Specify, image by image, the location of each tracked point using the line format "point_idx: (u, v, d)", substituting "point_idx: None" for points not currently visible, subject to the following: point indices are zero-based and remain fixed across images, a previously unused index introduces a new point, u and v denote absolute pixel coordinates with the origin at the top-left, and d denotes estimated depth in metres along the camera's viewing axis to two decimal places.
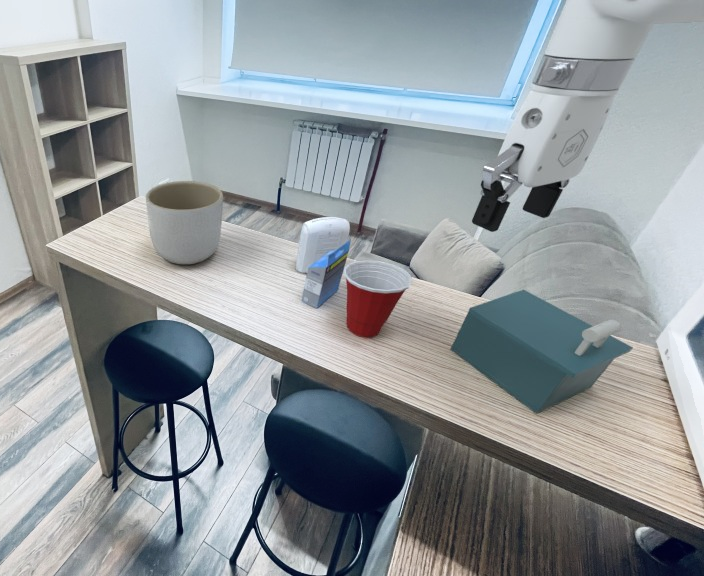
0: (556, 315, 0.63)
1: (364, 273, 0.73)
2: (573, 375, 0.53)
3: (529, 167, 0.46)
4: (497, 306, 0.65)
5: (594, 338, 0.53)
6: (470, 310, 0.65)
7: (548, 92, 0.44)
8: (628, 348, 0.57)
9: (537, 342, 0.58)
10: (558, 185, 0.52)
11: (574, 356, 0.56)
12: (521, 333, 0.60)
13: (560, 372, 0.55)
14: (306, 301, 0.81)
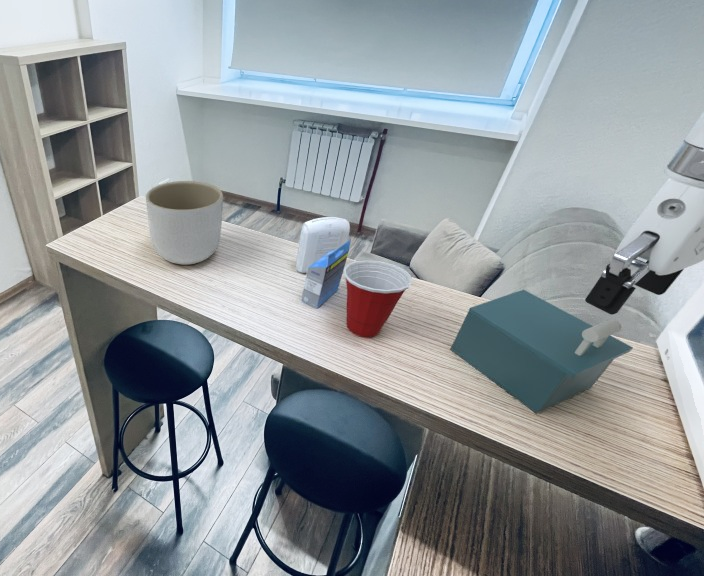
0: (556, 315, 0.63)
1: (364, 273, 0.73)
2: (573, 375, 0.53)
3: (664, 257, 0.44)
4: (497, 306, 0.65)
5: (594, 338, 0.53)
6: (470, 310, 0.65)
7: (692, 184, 0.41)
8: (628, 348, 0.57)
9: (537, 342, 0.58)
10: None
11: (574, 356, 0.56)
12: (521, 333, 0.60)
13: (560, 372, 0.55)
14: (306, 301, 0.81)
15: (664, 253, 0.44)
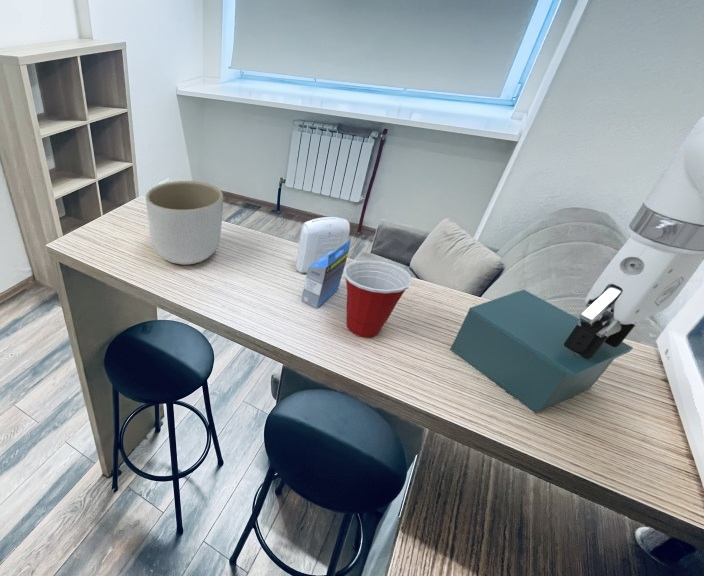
0: (556, 315, 0.63)
1: (364, 273, 0.73)
2: (573, 375, 0.53)
3: (627, 309, 0.48)
4: (497, 306, 0.65)
5: None
6: (470, 310, 0.65)
7: (650, 244, 0.45)
8: (628, 348, 0.57)
9: (537, 342, 0.58)
10: None
11: (574, 356, 0.56)
12: (521, 333, 0.60)
13: (560, 372, 0.55)
14: (306, 301, 0.81)
15: (626, 305, 0.48)
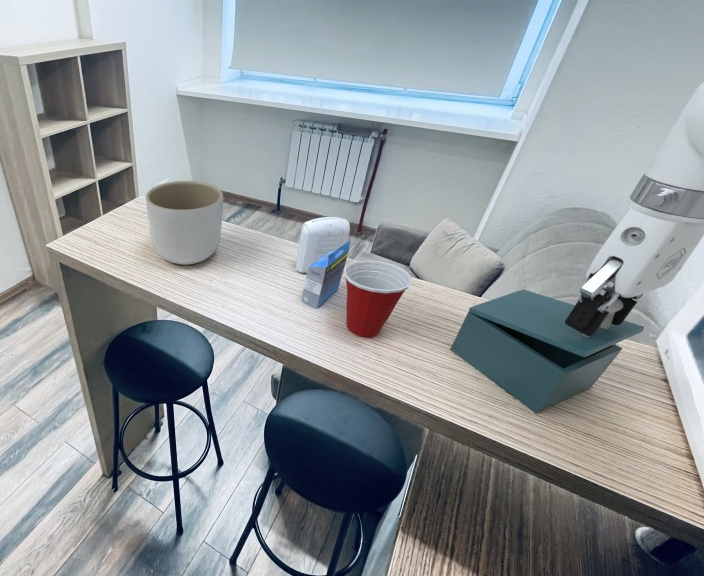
0: (559, 306, 0.62)
1: (364, 273, 0.73)
2: (584, 354, 0.52)
3: (628, 281, 0.47)
4: (497, 304, 0.65)
5: None
6: (470, 310, 0.65)
7: (651, 214, 0.45)
8: (639, 327, 0.55)
9: (542, 330, 0.57)
10: (632, 297, 0.53)
11: (582, 338, 0.54)
12: (524, 323, 0.59)
13: (560, 372, 0.55)
14: (306, 301, 0.81)
15: (628, 277, 0.47)
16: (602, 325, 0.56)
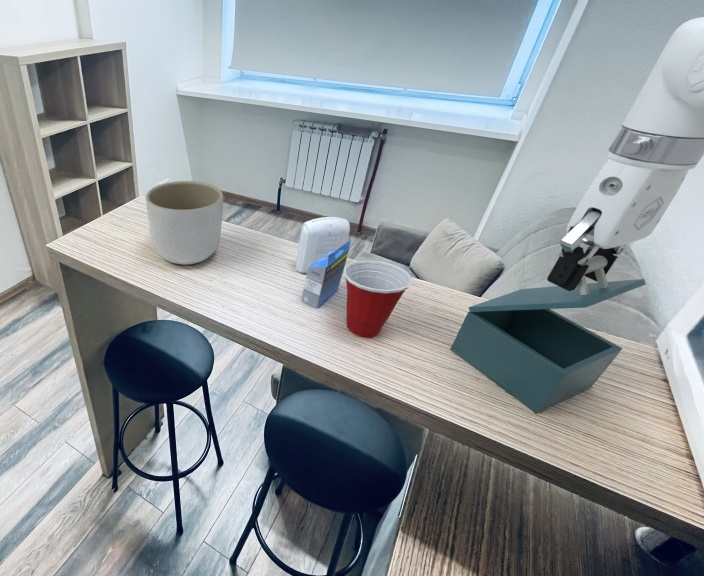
0: (558, 288, 0.62)
1: (364, 273, 0.73)
2: (584, 304, 0.50)
3: (606, 231, 0.48)
4: (496, 300, 0.65)
5: None
6: (470, 309, 0.65)
7: (628, 163, 0.46)
8: (639, 280, 0.54)
9: (540, 301, 0.56)
10: (613, 252, 0.54)
11: (581, 296, 0.53)
12: (522, 302, 0.59)
13: (560, 372, 0.55)
14: (306, 301, 0.81)
15: (606, 227, 0.48)
16: (599, 285, 0.55)
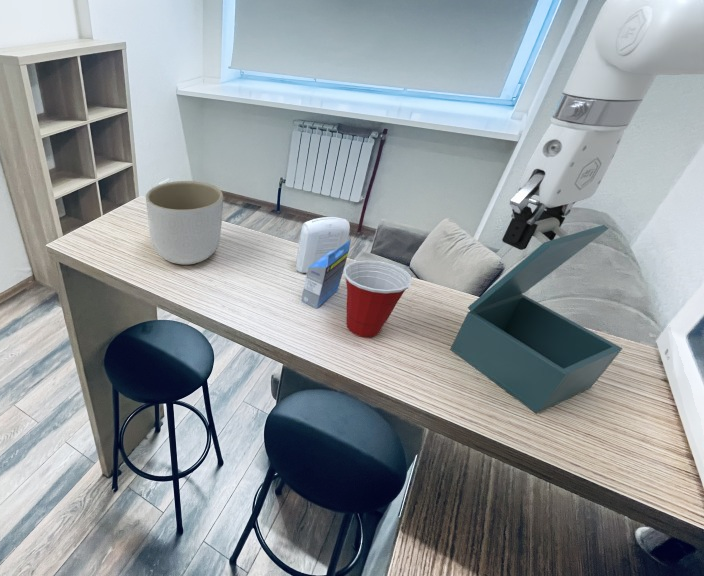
0: None
1: (364, 273, 0.73)
2: (546, 244, 0.53)
3: (549, 190, 0.52)
4: None
5: None
6: (470, 308, 0.65)
7: (567, 126, 0.50)
8: (599, 226, 0.57)
9: None
10: (561, 213, 0.58)
11: None
12: None
13: (560, 372, 0.55)
14: (306, 301, 0.81)
15: (549, 186, 0.52)
16: None
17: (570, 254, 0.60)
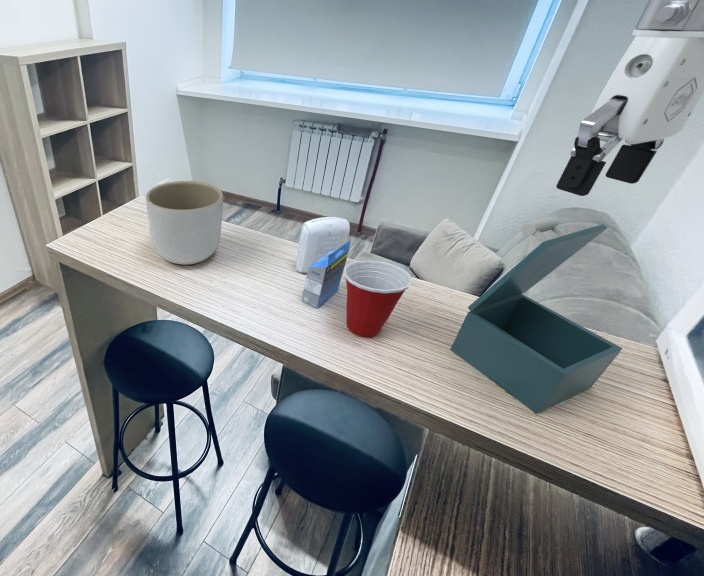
0: None
1: (364, 273, 0.73)
2: (545, 244, 0.53)
3: (633, 120, 0.42)
4: None
5: (531, 226, 0.57)
6: (470, 308, 0.65)
7: (659, 36, 0.40)
8: (598, 225, 0.57)
9: None
10: (651, 147, 0.48)
11: None
12: None
13: (560, 372, 0.55)
14: (306, 301, 0.81)
15: (633, 116, 0.42)
16: None
17: (569, 253, 0.60)
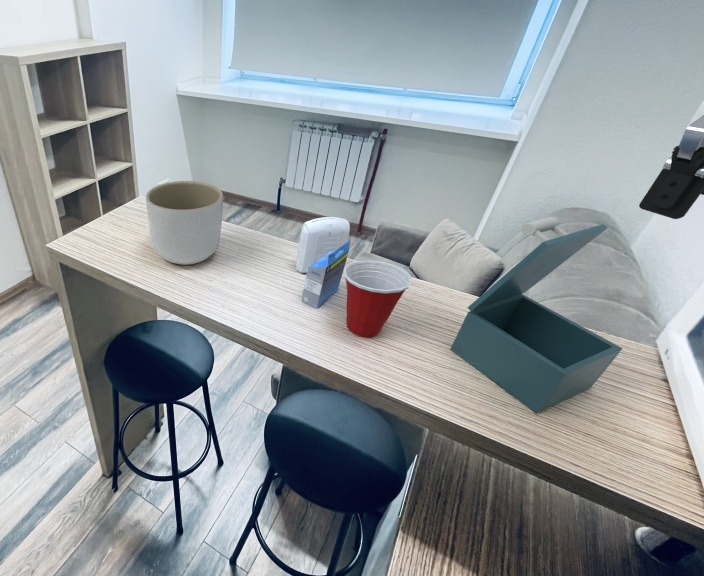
0: None
1: (364, 273, 0.73)
2: (545, 244, 0.53)
3: None
4: None
5: (531, 226, 0.57)
6: (470, 308, 0.65)
7: None
8: (598, 225, 0.57)
9: None
10: None
11: None
12: None
13: (560, 372, 0.55)
14: (306, 301, 0.81)
15: None
16: None
17: (569, 253, 0.60)
